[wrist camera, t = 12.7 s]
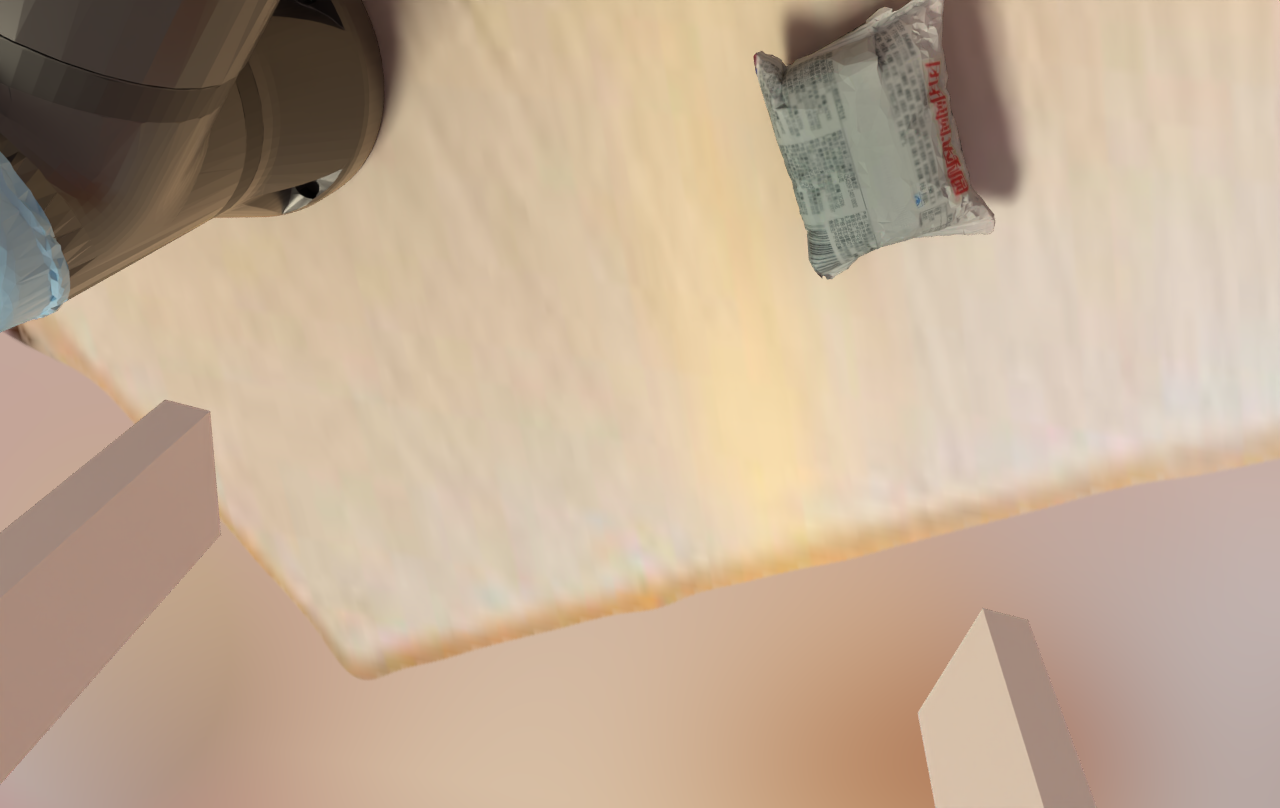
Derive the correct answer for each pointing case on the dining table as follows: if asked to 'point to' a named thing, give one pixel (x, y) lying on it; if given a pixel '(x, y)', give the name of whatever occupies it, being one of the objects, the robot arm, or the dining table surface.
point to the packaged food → (873, 138)
